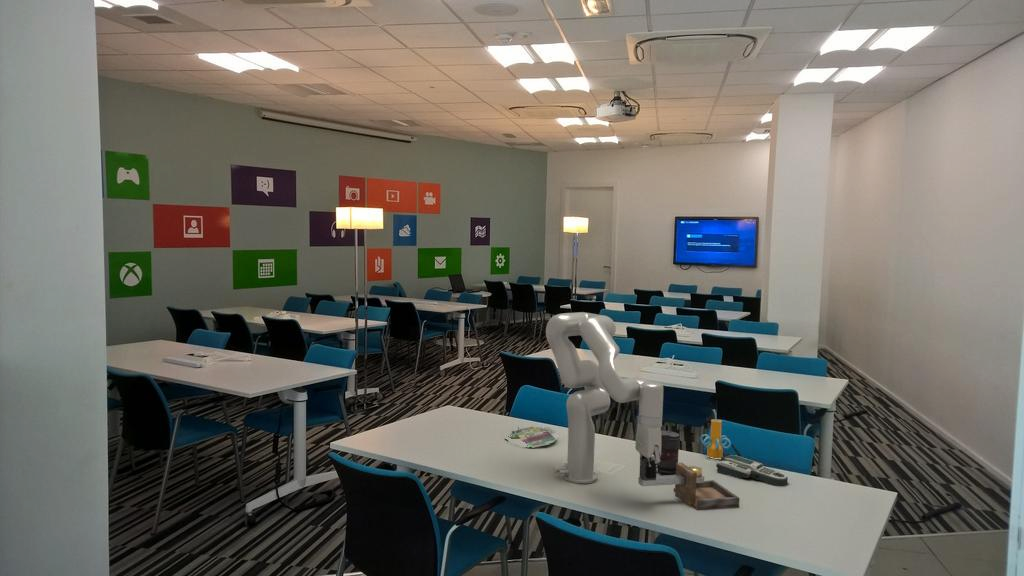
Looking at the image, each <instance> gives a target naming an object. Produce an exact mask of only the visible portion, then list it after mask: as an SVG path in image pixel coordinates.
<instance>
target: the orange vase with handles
mask: <svg viewBox="0 0 1024 576" xmlns="http://www.w3.org/2000/svg"><path fill="white" fill-rule="evenodd" d="M722 422H723V421H722V420H721V419H715V418H714V419H711V420H710V435H709V434H706V433H705V434H704V433H703V434H702V435H701V436H700V442H701V443H702V444H703V447H705V448H707V449H706V450H707V452H706V456H709V457H713V458H721V457H722V456H724V455H723V454H724V449H730V448H731V447H732V446H731V445H732V442H731V440H730V439H729V438H728V437H727V436H726V435H724V434H723V435H722ZM704 437H705V438H704ZM703 438H704V439H703ZM707 440H708V441H707ZM706 441H707V442H706ZM723 441H724V443H723ZM727 443H728V445H727ZM725 445H727V446H725ZM709 457H708V458H709Z"/></svg>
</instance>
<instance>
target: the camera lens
mask: <svg viewBox="0 0 1024 576" xmlns="http://www.w3.org/2000/svg"><path fill="white" fill-rule="evenodd" d="M680 441H681V440H680V434H679V433H677V432H674V431H671V430H670V431H669V430H661V456H660V462H659V463H658V464H657V473H658V474H659V475H660V476H666V475H676V463H679V450H680Z"/></svg>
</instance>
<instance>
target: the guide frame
mask: <svg viewBox="0 0 1024 576" xmlns="http://www.w3.org/2000/svg"><path fill="white" fill-rule="evenodd" d="M689 467H690V466H688V465H686V464H685V463H683V462H678V463H676V474H675V475H684V476H685V477H686V484H674V488H673V493H674V495H675V496H676V497H677V498H678V499H680V500H681V501H682V502H683V503H684V504H686V505H687V506H688V507H693V508H694V509H695V510H696V511H703V510H705V511H707V510H715V509H716V510H717V509H731V508H732V509H733V508H740V497H738V495H736V494H734V493H732V491H730V490H729V489H728V488H725V487H724V486H723V485H721V484H719V483H718V482H717V481H715V480H713V479H711V480H704V483H696V478H697V473H696V472H695V471H693V470H692V469H690V468H689Z"/></svg>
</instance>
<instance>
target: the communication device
mask: <svg viewBox="0 0 1024 576" xmlns="http://www.w3.org/2000/svg"><path fill="white" fill-rule="evenodd" d="M730 447H732V449H733V450H734V451H735V453H736V455H735V454H734V455H733V454H731V453H727V454H724V455H723V456H722V457H721V459H720V460H719V461H718V462H716V465H715V467H716V468H717V469H716V471H717V472H719V473H720V474H723V475H726V476H729V475H730V476H729V477H732V476H733V477H732V478H736V477H737V478H736V479H741V478H744V479H749V478H751V479H754V480H756V481H760V482H761V483H762V482H763V483H766V484H769V485H772V486H777V487H782V486H786V485H787V484H788V479H789V478H788V476H787V475H786V474H785V473H783V472H781V471H777V470H776V469H771V468H768V467H766V466H764V464H763V463H761V462H759V461H755V460H751V459H748V458H745V457H743V456H742V454H741V453H740V451H738V449H737V448H736V447H735V445H734V444H732V443H731V446H730Z"/></svg>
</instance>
